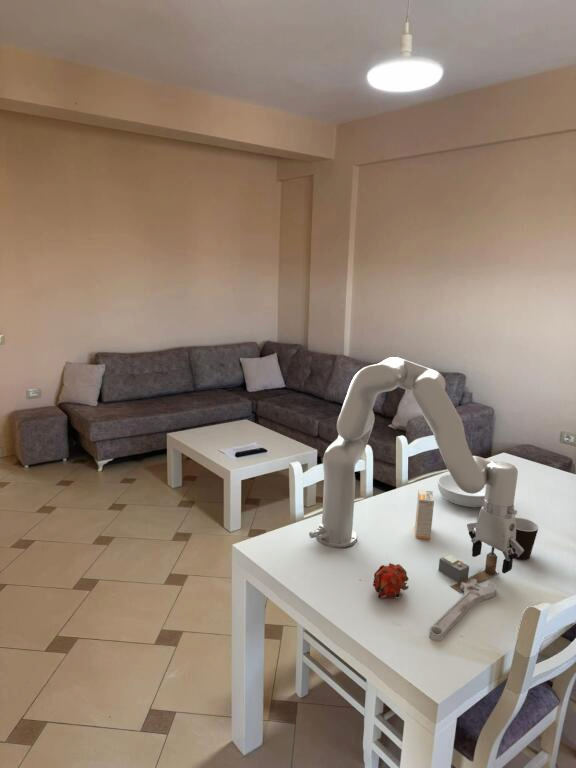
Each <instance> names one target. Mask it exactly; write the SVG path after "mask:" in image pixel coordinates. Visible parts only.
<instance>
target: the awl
mask: <svg viewBox="0 0 576 768" xmlns="http://www.w3.org/2000/svg"><path fill="white" fill-rule="evenodd" d="M485 559H486V560H485V568H484V570H485V573H487V574H489V575H494V574H495V572H496V571H497V570H496V569H497V563H498V556H497V554H496V553H495V548H493V547H491V550H490V552H488V553H487V554H486V557H485ZM494 576H495V575H494Z"/></svg>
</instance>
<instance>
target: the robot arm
mask: <svg viewBox="0 0 576 768" xmlns="http://www.w3.org/2000/svg"><path fill="white" fill-rule="evenodd" d="M398 388H401V389H403V390H405V391H408V392H411V396H412V398H413V399H414V401H415V403H416V405H417V407H418V409H419V410H420V412H421V414H422V416H423V418H424V420H425V421H426V423H427V425H428V426H429V428H430V430H431V432H432V433H433V436H434V440H435V442H436V445H437V447H438V450H439V452H440V455H441V457H442V460H443V462H444V465H445V467H446V468H447V470H448V472H449V474H451V476H452V477H453V479H454V481H455V483H456V484H457V486H458V487H459V488H460V489H461V490H463V491H464V492H466V493H471V494H473V493H477V492H479V491H481V490H482V489H483V488H484V486H485V485H486V490H485V498H484V506H481V508H480V511H479V513H478V517H477V521H476V522H470V523H467V524H466V527H467V531H468V535H469V537H470V538H471V540H470V541H471V543H472V548H471V552H472V553H471V556H472V557H473V558H476V557H478V556H480V555H482V546H483V543H484V544H486V545H488V546H490V547H491V548H492V547H493V548H494V550H498V551H500V552H502V554H503V556H504V559H503V560H502V568H501V573H503V574H507V573H508V572H510V571H511V570H512V568H513V564H514V563H513V562H514V560H516V559H515V558H517V557H519V556H520V555H521V554H522V553H523V552H524V549H523V548H522V547H521V546H520V545H519V544H518V543H517V541H516V519H515V518H516V515H517V513H518V511H517V509H515V496H516V490H517V482H518V474H519V473H518V472H519V471H518V469H517V467H516V465H514V464H511V463H508V462H505V461H495V460H491V459H488V458H484V457H481V456H477V455H473V454H472V452H471V450H470V447H469V444H468V442H467V438H466V433H465V432H466V431H465V428H464V427H465V426H464V423H463V420H462V417H461V416H460V415H459V413H458V410H457V409H456V407H455V406H454V404H453V401H452V400H451V399H450V397H449V394H448V393H447V391H446V379H445V378H444V376H443V375H442V373H440V372H439V371H437V370H434V369H432V368H430V367H426V366H424V365H420V364H419V363H416V362H415V363H414V362H412V361H410V360H406V359H403V358H400V357H394V356H392V357H388V358H386V359H383V360H382V361H381V362H379V363H376V364H371V365H367V366H364V367H362V368H361V369H360V370H359V371H357V373H355V375H354V376H353V378H352V380H351V382H350V384H349V387H348V389H347V393H346V396H345V399H344V401H343V404H342V407H341V411H340V413H339V415H338V417H337V421H336V430H337V433H338V436H337V438H336V439H335V440H334V441H333V442H332V443H330V445H329V446H328V447H327V448H326V449H325V451H324V454H323V457H322V465H323V467H322V468H323V496H322V497H323V498H322V499H323V500H322V513H321V514H322V515H321V516H322V517H321V523H320V524H319V526H318V528H317V529H316V530H313V531H310V532H309V533H308V535H309V538H310V539H315V538H317V540H318V542H320V543H321V544H323V545H325V546H328V547H332V548H347V547H350V546H353V545H354V544H355V543H356V542H357V539H358V534H357V532H356V531H355V530H353V525H354V513H355V512H354V508H355V496H356V495H355V494H356V493H355V492H356V491H355V490H356V474H355V468H356V465H357V463H358V462H359V460H360V459H361V458H362V457H363V455H364V453H365V451H366V448H367V445H368V443H369V440H370V439H369V438H370V437H371V434H372V430H373V428H374V424H375V420H376V419H375V413H374V411H373V408H374V405H375V404H376V399H377V396H378V395H379V394H381V393H385V392H386V393H387V392H392V391H394V390H395V389H398ZM512 548H514V549H515V550H516V551H515V553H514V552H513V550H512ZM507 551H508V552H507ZM508 553H509V554H508Z"/></svg>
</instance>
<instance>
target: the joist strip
mask: <svg viewBox="0 0 576 768" xmlns="http://www.w3.org/2000/svg"><path fill="white" fill-rule="evenodd" d="M497 572H498V571H497ZM497 572H495V574H496V575H498V574H497ZM495 574H494V576H496V575H495ZM491 576H492V577H494V576H493V575H489V574H487V573H485V569H484V570H481V571H479V572H476V573H475V574H473V575H471V576H468V578H467V579H465V580H462V581H460V582H456V583H454V584H452V585H450V588H452V589H453V590H455V591H457V592H458V593H462V592H464V591H463V590H462V589H461V588H460V586H461V582H463V583H466V582H467V581H470V580H473V579H476V580H477V584H480V583H482V582H483V580H484V581H486V580H488V579H490V578H492V577H491ZM489 577H490V578H489ZM487 578H488V579H487ZM485 579H486V580H485ZM481 581H482V582H481ZM477 584H476V585H477Z"/></svg>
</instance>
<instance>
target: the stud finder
mask: <svg viewBox="0 0 576 768" xmlns="http://www.w3.org/2000/svg"><path fill="white" fill-rule="evenodd" d="M438 571H439V572H440V573H441V574H443V575H444V576H446V577H448V578H449V579H451V580H453V581H455V582H456V583H458V582H460V581H462V580H465V579H467V578H469V574H470V573H469V572H470V565H468V564H466V563H464V562H463V561H461V560H460V559H458V558H456V557H455V556H453V555H451V554H447V555H445V556H442V557H440V558H439V563H438Z"/></svg>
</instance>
